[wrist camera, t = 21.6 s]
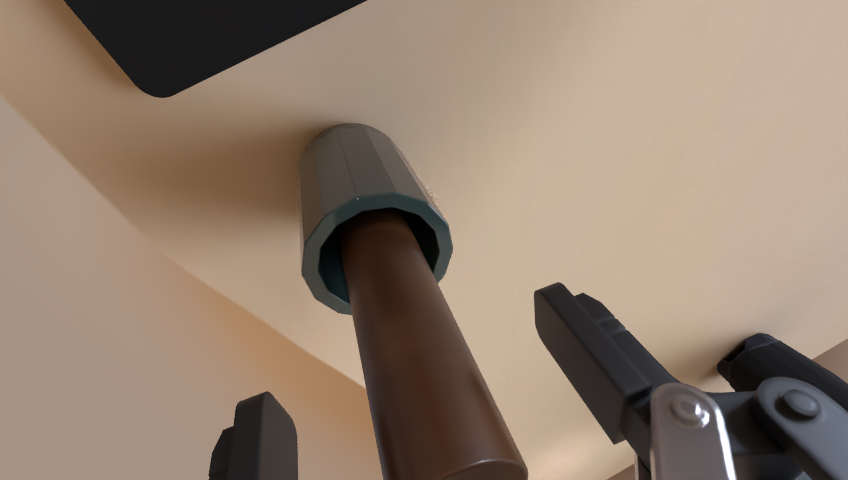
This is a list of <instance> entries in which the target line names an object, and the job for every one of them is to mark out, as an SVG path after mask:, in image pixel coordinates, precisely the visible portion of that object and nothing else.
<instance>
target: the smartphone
mask: <svg viewBox="0 0 848 480" xmlns="http://www.w3.org/2000/svg"><path fill="white" fill-rule="evenodd" d="M64 1H65V2H66V4H67V5H68V6H69V7H70V8H71V10H72V11H73V12H74V13H75V14H76V15H77V17H78V18H79V19H80V20H81V21H82V23H83V24H84V25H85V26H86V27H87V28H88V30H89V31H90V32H91V33H92V34H93V35H94V37H95V38H96V39H97V40H98V41H99V43H100V44H101V45H102V46H103V47H104V48H105V50H106V51H107V52H108V53H109V54H110V56H111V57H112V58H113V59H114V60H115V61H116V63H117V64H118V65H119V66H120V67H121V69H122V70H123V71H124V72H125V73H126V74H127V76H128V77H129V78H130V79H131V80H132V82H133V83H134V84H135V85H136V86H137V87H138V88H139V89H140V90H142V91H143V92H145V93H147V94H149V95H151V96H154V97H159V98H166V97H170V96H173V95H175V94H177V93H179V92H181V91H183V90H185V89H187V88H189V87H191V86H193V85H195V84H197V83H199V82H201V81H203V80H206V79H208V78H210V77H212V76H214V75H216V74H218V73H220V72H222V71H224V70H226V69H228V68H230V67H232V66H234V65H236V64H238V63H240V62H242V61H244V60H246V59H248V58H250V57H252V56H255V55H257V54H259V53H261V52H263V51H265V50H267V49H269V48H271V47H273V46H275V45H277V44H279V43H281V42H283V41H285V40H287V39H289V38H291V37H293V36H295V35H297V34H299V33H302V32H304V31H306V30H308V29H310V28H312V27H314V26H316V25H318V24H320V23H322V22H324V21H326V20H328V19H330V18H332V17H334V16H336V15H338V14H340V13H342V12H344V11H346V10H348V9H351V8H353V7H355V6H357V5H359V4H361V3H363V2H365V1H367V0H64Z"/></svg>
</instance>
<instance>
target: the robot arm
mask: <svg viewBox="0 0 848 480" xmlns="http://www.w3.org/2000/svg"><path fill="white" fill-rule="evenodd" d="M534 307H535V325H536V329H537V332H538V334H539V337H540V339H541V340H542V342H543V344H544V345H545V346H546V348H547V349H548V351H549V352H550V354H551V355H552V357H553V358H554V359H555V361H556V362H557V364H558V365H559V367H560V368H561V369H562V371H563V372H564V374H565V375H566V377H567V378H568V379H569V381H570V382H571V384H572V385H573V387H574V388H575V390H576V391H577V392H578V394H579V395H580V397H581V398H582V400H583V401H584V402H585V404H586V405H587V407H588V408H589V410H590V411H591V413H592V414H593V415H594V417H595V418H596V420H597V421H598V423H599V424H600V425H601V427H602V428H603V430H604V431H605V433H606V434H607V435H608V437H609V438H610V440H611V441H612V443H613V444H614V445H615V444H617V443H619V442H622V441H624V440H627V441H628V443H629V444H630V445H631V447H632V448H633V449H634V451H635V455H634V457H635V479H636V480H848V412H847V411H846V410H845V409H844V408H842V407H841V406H840V405H839V404H837V403H836V402H835V401H834V400H833V399H831V398H830V397H829V396H828V395H826V394H825V393H824V392H822V391H821V390H819V389H818V388H816V387H814V386H812V385H810V384H808V383H806V382H803V381H801V380H797V379H794V378H788V377H773V378H769V379H766V380H764V381H763V382H762V383H761V384H760V386H759V387H758V389H757V390H756V391H746V392H726V393H710V392H704V391H701V390H699V389H697V388H695V387H693V386H690V385H687V384H683V383H681V382H679V381H678V380H677V379H675V378H674V377H673V376H672V375H670V374H669V373H668V372H667V371H666V370H665V369H664V367H663V366H662V365H661V364H660V363H659V362H658V361H657V360H656V359H655V358H654V357H653V356H652V355H651V354H650V353H649V352H648V351H647V350H646V349H645V348H644V347H643V346H642V345H641V344H640V343H639V341H638V340H637V339H636V338H635V337H634V336H633V335H632V334H631V333H630V332H629V331H627V330H626V329H625V327H624V326H623V325H622V324H621V323H620V322H619V321H618V320H617V319H615V318H614V315H613V314H612V313H611V312H610V311H609V310H608V309H607V308H606V307H605V306H604V305H603V304H602V303H601V302H599V301H597V300H596V299H594V298H592V297H590V296H588V295H586V294H584V293H581V294H579V295H576V296H573V295H572V294H571V293H570V291H569V290H568V289H567V288H566V287H565V286H564V285H563V284H562V283H559V282H557V283H555V284H552V285H549V286H547V287H544V288H541V289H539V290H536V291H535V292H534ZM209 477H210V478H209V480H298V452H297V433H296V428H295V425H294V422H293V420H292V418H291V417H290V415H289V414H288V413H287V412H286V411H285V410H284V408H283V407H282V406H281V405H280V404H279V403H278V401H277V400H276V399H275V398H274V396H273V395H272V394H271V393H270V392H268V391H267V392H264V393H261V394H259V395H256V396H253V397H251V398H248V399H245V400H243V401H240V402H239V403H238V404H237V406H236V410H235V418H234V426H233V427H230V428H227V429H225V430H223V432H222V434H221V436H220V438H219V440H218V442H217V444H216V446H215V448H214V450H213V452H212V458H211V463H210V470H209Z"/></svg>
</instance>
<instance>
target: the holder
mask: <svg viewBox="0 0 848 480" xmlns="http://www.w3.org/2000/svg"><path fill="white" fill-rule="evenodd" d="M298 206H299V229H300V251H301V272H302V276H303V278H304V280H305V281H306V283H307V285H308V287H309V289H310V290H311V292H312V294H313V296H314V298H315V299H316V300H318V301H320V302H321V303H323V304H325V305H326V306H328V307H329V308H331V309H333V310H334V311H336V312H338V313H341V314H347V315H352V310H351V305H350V300H349V294H348V289H347V284H346V279H345V273H344V268H343V263H342V258H341V252H340V247H339V242H338V236H337V231H336V226H337V225H339V224H341V223H342V222H344V221H346V220H348V219H349V218H351V217H353V216H355V215H356V214H358V213H360V212H362V211H367V210H374V209H382V208H390V207H394V208H397V209H401V210H402V212H403V214H404V216H405V218H406V220H407V222H408V224H409V226H410V228H411V230H412V232H413V234H414V236H415V238H416V240H417V243H418V245H419V247H420V249H421V251H422V253H423V255H424V257H425V259H426V261H427V263H428V265H429V267H430V269H431V271H432V273H433V275H434V278H435V280H436V282H437V284H438V283H439V281H440V280H441V279H442V278H443V277H444V275H445V273H446V270H447V267H448V264H449V261H450V258H451V255H452V251H453V245H452V240H451V235H450V230H449V225H448V223H447V221H446V219H445V218H444V216H443V215H442V213H441V212H440V210H439V209H438V207H437V206H436V204H435V202H434V201H433V199H432V198H431V196H430V195H429V193H428V192H427V190H426V189H425V187H424V185H423V184H422V182H421V181H420V179H419V178H418V176H417V175H416V173H415V172H414V170H413V168H412V167H411V165H410V164H409V162H408V161H407V159H406V158H405V156H404V155H403V153H402V152H401V151H400V150H399V149H398V147H397V146H396V144H395V143H394V142H393V141H392V140H391V139H390V138H389V137H388V136H387V135H385V134H384V133H382V132H381V131H379V130H377V129H375V128H373V127H369V126H366V125H360V124H345V125H339V126H335V127H333V128H330V129H328V130H326V131H324V132H322V133H321V134H319V135H318V136H317V137H315V138H314V139H313V140H312V141H311V142H310V144H309V145H308V146H307V147H306V149H305V151H304V153H303V154H302V157H301V159H300V163H299V168H298Z"/></svg>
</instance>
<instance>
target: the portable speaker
mask: <svg viewBox="0 0 848 480" xmlns="http://www.w3.org/2000/svg"><path fill="white" fill-rule="evenodd" d="M743 344H744V346H745V349H744V350H743V351H742V352H741V353H740V354H738V355H737V356H736V357H735V358H734V359H733V360H732V361H731V362H728V361H722V362H721V363H719V364H718V372H719V373H720V374H721V375H722V376H723V377H724V378H725V379H726V380H727V381H728V382H729V384H730V386H731V387H732V388H733V389H734V390H735V392H746V391H756V390H757V389H758V387H759V386H760V384H761V383H762V382H763V381H764V380H766V379H769V378H773V377H788V378H794V379H797V380H801V381H803V382H806V383H808V384H810V385H812V386H814V387H816V388H818V389H819V390H821V391H822V392H824V393H825V394H826V395H828V396H829V397H830V398H831V399H833V400H834V401H835V402H836V403H837V404H839V405H840V406H841V407H842V408H844V409H845V410H846V411H847V412H848V384H847V383H846V382H844V381H843V380H842V379H840V378H839V377H838V376H836V375H835V374H833V373H832V372H830V371H829V370H827V369H825V368H823V367H822V366H820V365H819V364H817V363H816V362H814V361H812V360H811V359H809V358H807V357H806V356H804V355H802V354H801V353H799V352H797V351H796V350H794V349H793V348H791V347H789V346H788V345H786V344H784V343H783V342H781V341H778V340H777V339H775V338H773V337H772V336H770V335H768V334H758V335H755V336H753V337H751V338H748V339H746V340H745V341H744V343H743Z"/></svg>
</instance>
